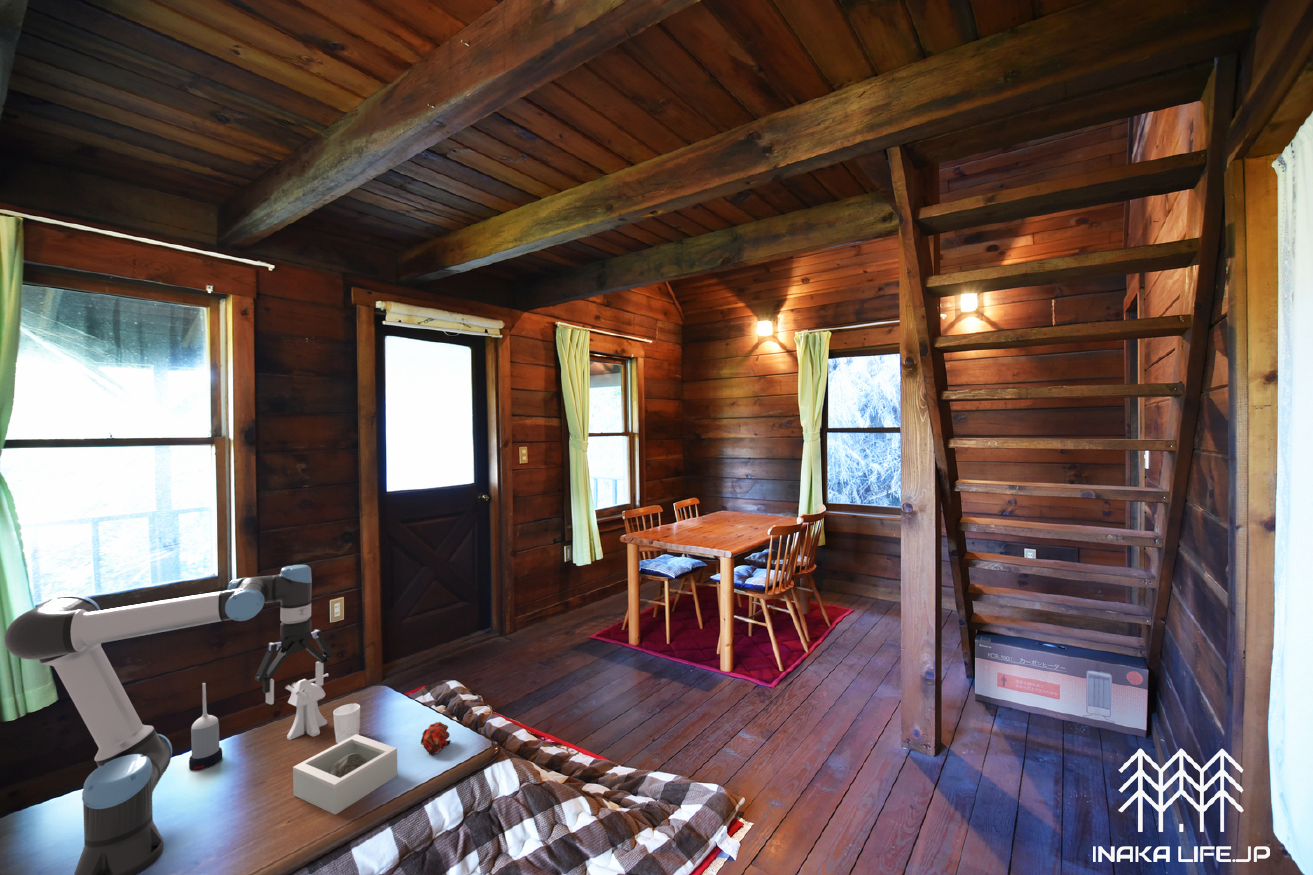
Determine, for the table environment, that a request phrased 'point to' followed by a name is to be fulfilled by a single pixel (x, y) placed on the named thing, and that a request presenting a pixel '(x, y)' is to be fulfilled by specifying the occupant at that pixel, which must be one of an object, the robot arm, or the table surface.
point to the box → (340, 793)
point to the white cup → (346, 721)
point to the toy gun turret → (306, 708)
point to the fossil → (347, 764)
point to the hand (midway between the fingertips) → (295, 693)
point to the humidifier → (205, 740)
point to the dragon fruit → (435, 738)
